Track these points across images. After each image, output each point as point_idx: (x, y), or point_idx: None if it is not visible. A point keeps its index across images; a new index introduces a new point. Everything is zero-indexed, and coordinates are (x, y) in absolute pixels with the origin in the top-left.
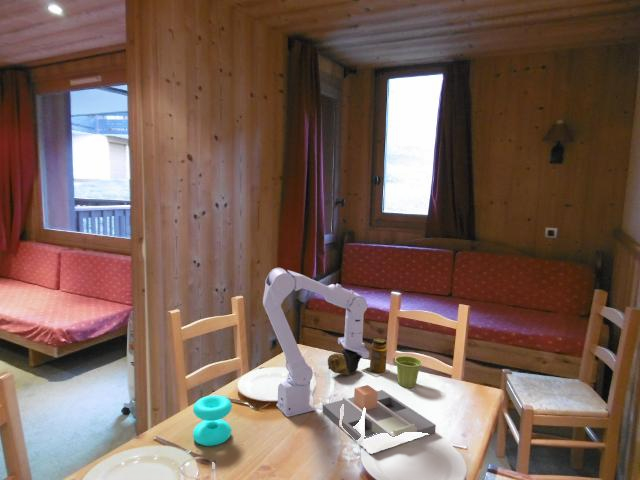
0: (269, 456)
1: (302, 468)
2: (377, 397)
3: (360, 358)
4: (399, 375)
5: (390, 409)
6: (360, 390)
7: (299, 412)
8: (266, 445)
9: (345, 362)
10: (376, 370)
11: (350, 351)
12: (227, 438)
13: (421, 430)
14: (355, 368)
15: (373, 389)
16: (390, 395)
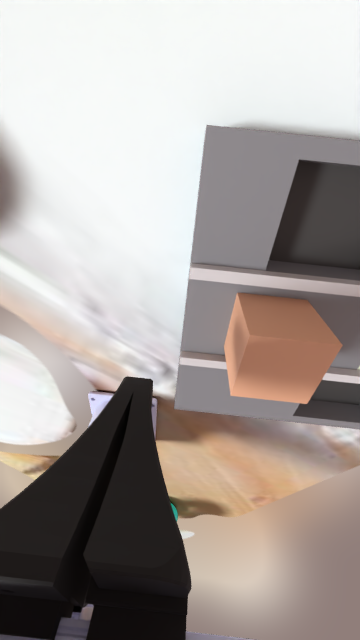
0: (241, 490)
1: (300, 481)
2: (251, 231)
3: (166, 492)
4: None
5: (321, 201)
6: (265, 392)
7: (154, 427)
8: (214, 484)
9: None
10: None
11: (81, 600)
12: (173, 508)
13: None
14: (150, 406)
15: (308, 345)
16: (291, 136)
